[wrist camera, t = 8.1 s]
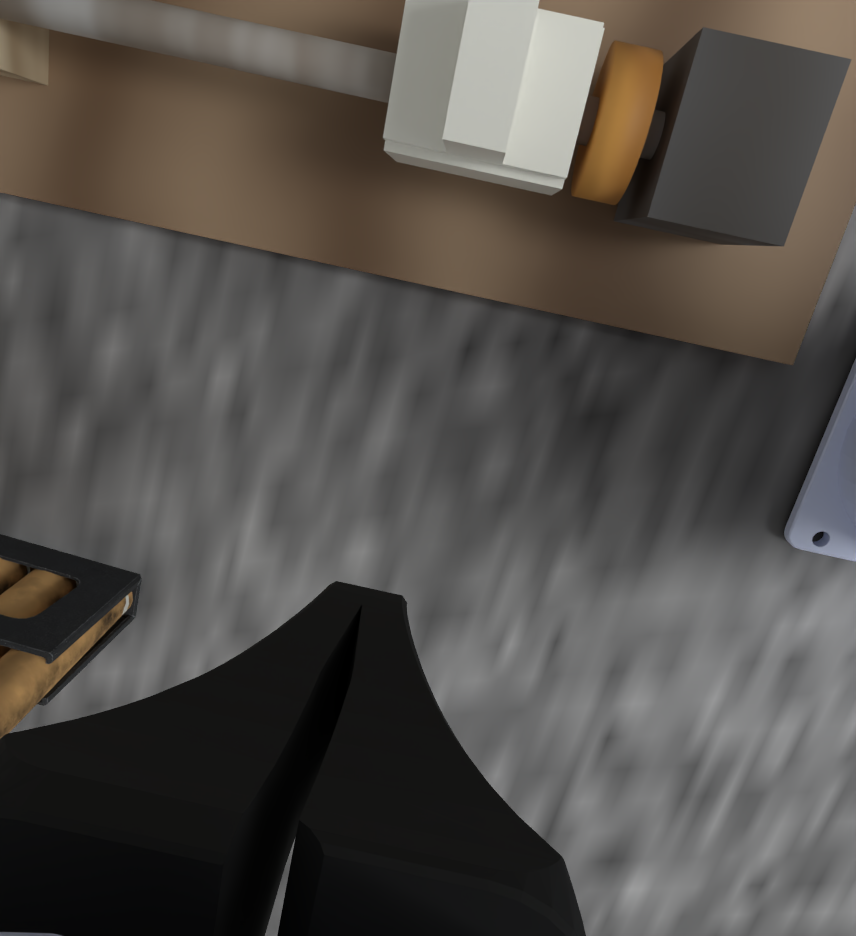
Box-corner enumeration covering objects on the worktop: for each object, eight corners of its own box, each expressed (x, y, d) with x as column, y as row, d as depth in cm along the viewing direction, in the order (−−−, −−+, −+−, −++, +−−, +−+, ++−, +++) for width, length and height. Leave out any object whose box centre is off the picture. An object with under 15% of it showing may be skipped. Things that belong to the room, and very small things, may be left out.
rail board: (909, 13, 17) (1074, -73, 12) (778, 359, 20) (870, 397, 15) (-12, -186, 17) (-201, -348, 13) (-9, 187, 20) (-161, 172, 16)
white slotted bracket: (586, 53, 16) (628, -20, 12) (551, 195, 17) (576, 180, 13) (421, 17, 16) (398, -69, 12) (396, 161, 17) (366, 134, 13)
